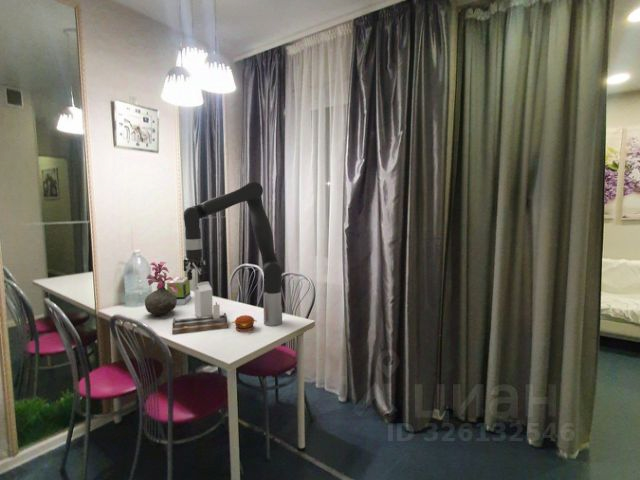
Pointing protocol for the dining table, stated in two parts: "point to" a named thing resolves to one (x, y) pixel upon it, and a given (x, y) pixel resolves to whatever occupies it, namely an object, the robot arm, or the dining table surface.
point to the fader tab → (216, 310)
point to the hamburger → (244, 323)
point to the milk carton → (203, 299)
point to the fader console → (198, 324)
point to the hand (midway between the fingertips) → (195, 280)
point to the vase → (160, 293)
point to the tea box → (180, 289)
